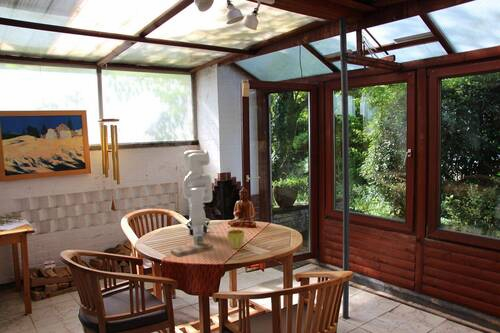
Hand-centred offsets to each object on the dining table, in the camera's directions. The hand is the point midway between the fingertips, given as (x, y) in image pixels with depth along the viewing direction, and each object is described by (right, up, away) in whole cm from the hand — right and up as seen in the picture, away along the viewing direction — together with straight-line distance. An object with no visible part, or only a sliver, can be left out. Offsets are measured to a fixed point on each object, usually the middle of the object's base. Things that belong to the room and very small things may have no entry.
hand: (198, 234), depth 259 cm
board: (-3, -9, -9) cm, 13 cm away
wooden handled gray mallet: (+3, -8, -2) cm, 9 cm away
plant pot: (+24, -8, -5) cm, 26 cm away
